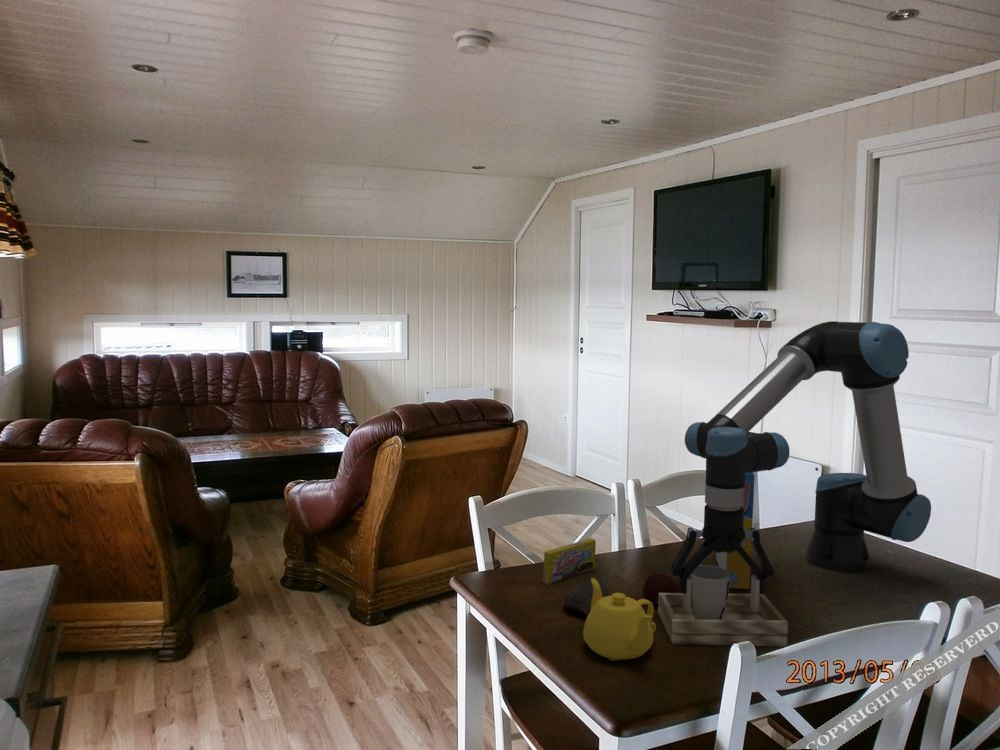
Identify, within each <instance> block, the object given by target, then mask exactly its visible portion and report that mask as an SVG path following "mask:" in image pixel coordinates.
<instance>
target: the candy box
mask: <svg viewBox="0 0 1000 750" xmlns="http://www.w3.org/2000/svg"><path fill="white" fill-rule="evenodd" d="M596 542H597V540H596V539H594V538H592V537H589V538H586V539H584V540H583V539H582V540H579V541H576V542H573V543H569V544H566V545H562V546H559V547H555V548H552V549H549V550H545V551H544V553H543V554H544V556H543V572H542V573H543V574H542V575H543V576H542V584H544V585H546V584H547V585H546V586H550V585H553V584H555V583H554V582H556V583H559V582H561V580H562V581H564V579H565V580H567V578H568V579H570V577H571V578H573V576H574V577H577V576H580V575H583V574H586V573H588V572H589V571H590V572H591V571H592V570H593V571H595V566H596ZM585 572H586V573H585ZM582 573H583V574H582ZM579 574H580V575H579ZM576 575H577V576H576ZM558 581H559V582H558ZM552 583H553V584H552ZM549 584H550V585H549Z"/></svg>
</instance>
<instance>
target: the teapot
mask: <svg viewBox="0 0 1000 750" xmlns="http://www.w3.org/2000/svg"><path fill="white" fill-rule="evenodd" d="M590 579H591V582H592V585H593V597H592V602H591V611H590V613H589V615H588V617H587V616H586V620H585V623H584V627H583V631H582V636H583V640H584V642H585V644H587V646H588V648H590V649H591V650H592V651H593V652H594V653H596V654H597V655H599V656H601V657H604V658H606V659H608V660H609V661H614V662H617V661H620V660H633V659H636V658H639V657H641V656H643V655H644V654H646V652H648V651H649V649H650V648H651V647H652V645H653V643H654V633H655V632H656V629H657V625H656V623H655V622H654V621H653V617H654V612H655V611H654V610H655V607H654V605H653V604H652V603H651V602H650V601H649V600H646V599H645V598H640V599H638V600H636V599H634V598H631V597H630V596H627V595H626V594H625V593H622V592H615V593H612V594H611V596H606V597H602V592H601V588H600V585H599V583H598V581H597V580H598V579H596V577H595V578H594V577H591V578H590ZM644 605H647V612H645V610H644V609H643V607H642V606H644Z"/></svg>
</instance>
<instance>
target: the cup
mask: <svg viewBox="0 0 1000 750" xmlns="http://www.w3.org/2000/svg"><path fill="white" fill-rule="evenodd" d="M689 578H690V579H691V608H692V611H693V615H694V619H702V620H721V619H722V617H723V614H724V611H725V607H726V606H727V605H726V603H727V598H728V594H730V593H729V591H730V588H729V584H730V572H729V571H727V570H725V569H723V568H720V567H719V566H716V565H709V564H699V565H698V567H697V568H696V569H695V570H694V571H693V572H692V573H691V574H690V575H689Z"/></svg>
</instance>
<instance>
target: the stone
mask: <svg viewBox="0 0 1000 750" xmlns="http://www.w3.org/2000/svg"><path fill="white" fill-rule="evenodd" d="M596 580H597V581H598V583H599V585H600V588H601V592H602V597H606V596H612V594H611V593H610V592H611V591H610V590H609V588H608V587H607V585H606V584H605V583H604V582H602V581H600V580H599V579H596ZM564 597H565V598H564V600H563V606H564V607H565V608H567V609H571V610H574V611H575V610H576V611H578V612H581V613H583V614H585V616H586V618H587V617H588V615H589V613H590V611H591V602H592V597H593V585H592V582H591V578H590V579H585V580H584V581H582V582H580V583H579V584H576V585H575V586H573V587H572V588H571V589H570V590H569V591H568V592H567V594H566V595H565V596H564Z"/></svg>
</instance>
